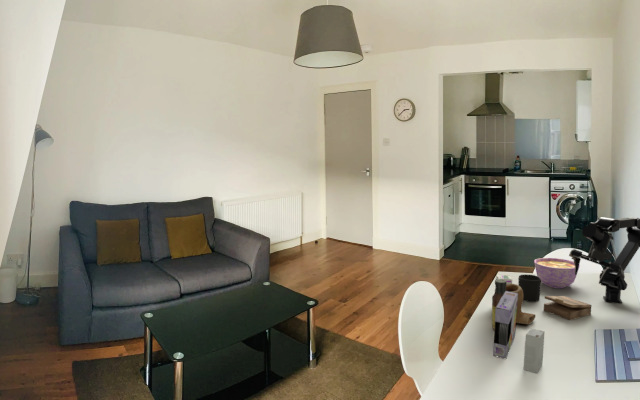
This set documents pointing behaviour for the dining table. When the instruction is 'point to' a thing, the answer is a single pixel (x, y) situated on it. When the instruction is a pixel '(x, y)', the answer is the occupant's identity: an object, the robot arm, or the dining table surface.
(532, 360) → the skincare box
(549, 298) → the case lid
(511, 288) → the tan boot
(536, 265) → the bowl of food
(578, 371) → the dining table surface
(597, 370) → the dining table surface
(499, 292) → the sauce bottle
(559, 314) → the wooden case
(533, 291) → the pen holder
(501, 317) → the cake pan box
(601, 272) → the robot arm
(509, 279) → the syrup box
